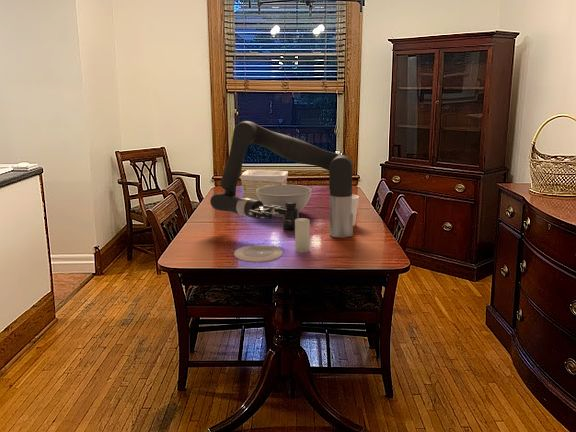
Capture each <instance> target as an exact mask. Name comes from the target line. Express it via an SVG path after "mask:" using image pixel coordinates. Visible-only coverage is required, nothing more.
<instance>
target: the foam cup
mask: <svg viewBox="0 0 576 432" xmlns="http://www.w3.org/2000/svg"><path fill="white" fill-rule="evenodd" d="M359 203H360V196H359V195H356V194H352V214H353V227H354V226H355V225H356V220H357V213H358V206H359Z"/></svg>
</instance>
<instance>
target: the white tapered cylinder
mask: <svg viewBox="0 0 576 432" xmlns="http://www.w3.org/2000/svg"><path fill="white" fill-rule="evenodd" d="M310 222H311V221H310V219H309V218H305V217H300V218H299V217H298V219H295V230H294V250H295V252H297V253H308V252H310V251H311V248H310V247H311V245H310V243H311V240H310V239H311V238H310V236H311V235H310V234H311V233H310V232H311V230H310V229H311V225H310V224H311V223H310Z"/></svg>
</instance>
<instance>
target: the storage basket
mask: <svg viewBox="0 0 576 432" xmlns="http://www.w3.org/2000/svg"><path fill="white" fill-rule="evenodd" d="M241 173H242V174H240V180H241V186H242V189H241V190H242V198H250V199H255V200H259V199H258V197H257V194H256V190H257V189H258V188H260V187H264V186H270V185H288V184H287V183H288V181H287V180H288V179H287V178H288V175H289V172H288V170H274V169H273V170H272V169H271V170H268V169H267V170H265V169H264V170H263V169H247V170H245V171H243V172H241Z"/></svg>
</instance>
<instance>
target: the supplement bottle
mask: <svg viewBox="0 0 576 432" xmlns="http://www.w3.org/2000/svg"><path fill="white" fill-rule="evenodd" d="M285 207H286V208H284V209H286V210H287V215H283V217H282V229H283V230H284V231H290V232H293V231H294V232H295V219H298V218H299V212H300V211H298V209H297V208H296V202H294V201H287V202H285Z"/></svg>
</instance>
